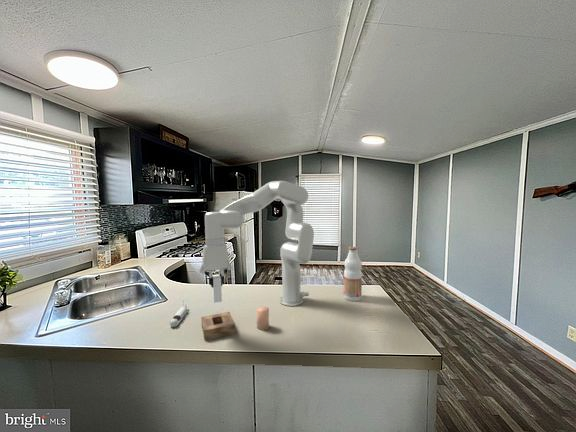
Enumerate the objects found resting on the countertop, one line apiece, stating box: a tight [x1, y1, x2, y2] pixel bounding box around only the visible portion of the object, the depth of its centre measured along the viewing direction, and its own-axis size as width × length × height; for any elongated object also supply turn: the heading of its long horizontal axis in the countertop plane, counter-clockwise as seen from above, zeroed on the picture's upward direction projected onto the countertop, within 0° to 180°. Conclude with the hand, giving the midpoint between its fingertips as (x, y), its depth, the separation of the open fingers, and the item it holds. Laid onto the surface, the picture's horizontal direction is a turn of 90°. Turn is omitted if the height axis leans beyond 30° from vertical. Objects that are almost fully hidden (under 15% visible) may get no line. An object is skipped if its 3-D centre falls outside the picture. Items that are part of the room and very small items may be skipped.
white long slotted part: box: [169, 300, 189, 328], centre depth 118 cm, size 18×5×7 cm, turn 5°
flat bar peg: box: [211, 273, 223, 303], centre depth 106 cm, size 3×5×10 cm, turn 24°
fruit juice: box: [343, 246, 363, 302], centre depth 138 cm, size 9×9×28 cm
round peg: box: [256, 306, 270, 331], centre depth 109 cm, size 5×5×8 cm
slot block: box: [201, 311, 236, 341], centre depth 107 cm, size 12×12×4 cm
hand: (216, 285), depth 106 cm, fingers closed on flat bar peg, 2 cm apart
